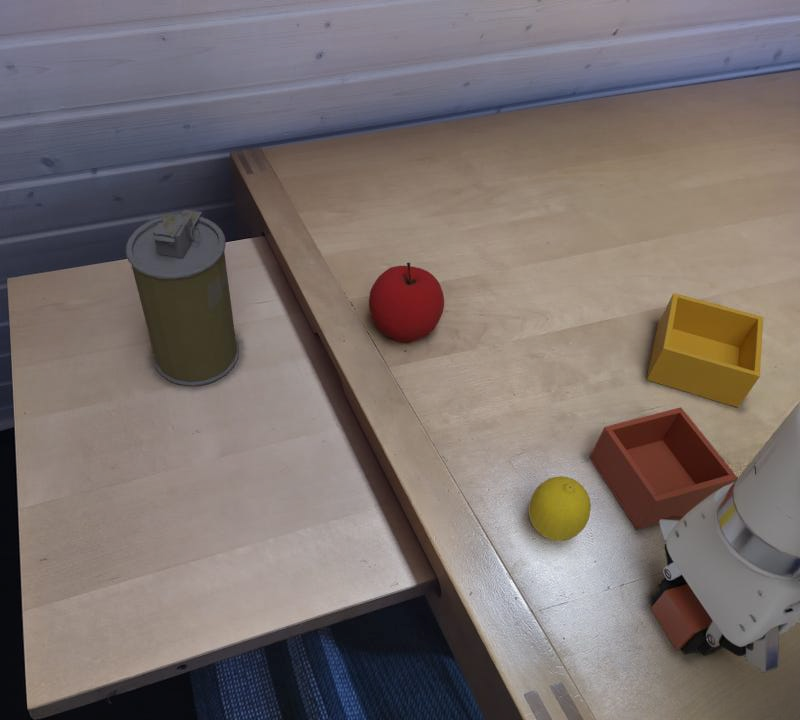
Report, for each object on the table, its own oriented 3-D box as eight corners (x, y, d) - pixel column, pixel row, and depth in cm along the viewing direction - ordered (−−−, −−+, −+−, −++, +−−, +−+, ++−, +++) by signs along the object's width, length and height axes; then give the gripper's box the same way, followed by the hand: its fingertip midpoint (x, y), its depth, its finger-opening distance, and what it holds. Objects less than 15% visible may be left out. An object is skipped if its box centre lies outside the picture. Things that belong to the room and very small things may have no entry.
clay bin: (714, 507, 73) (738, 478, 69) (636, 530, 72) (656, 501, 68) (662, 437, 79) (681, 406, 75) (589, 457, 78) (604, 426, 73)
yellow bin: (737, 407, 82) (760, 376, 78) (646, 379, 85) (663, 348, 81) (742, 349, 88) (763, 316, 84) (657, 324, 91) (673, 292, 87)
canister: (223, 393, 84) (202, 263, 69) (140, 378, 85) (103, 247, 70) (250, 329, 91) (237, 198, 76) (173, 316, 92) (145, 185, 77)
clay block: (713, 637, 65) (732, 620, 62) (675, 650, 64) (693, 633, 61) (686, 596, 67) (703, 578, 64) (649, 608, 66) (665, 590, 63)
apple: (355, 338, 90) (358, 279, 82) (383, 294, 95) (388, 235, 88) (424, 362, 87) (434, 303, 79) (449, 316, 92) (460, 256, 85)
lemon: (520, 547, 70) (538, 506, 64) (523, 500, 74) (540, 456, 68) (577, 560, 70) (601, 519, 64) (577, 511, 73) (600, 468, 67)
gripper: (912, 617, 47) (779, 703, 61) (744, 423, 58) (663, 532, 71) (818, 650, 46) (704, 730, 59) (664, 444, 56) (597, 552, 70)
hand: (682, 621), depth 65 cm, fingers closed on clay block, 4 cm apart
